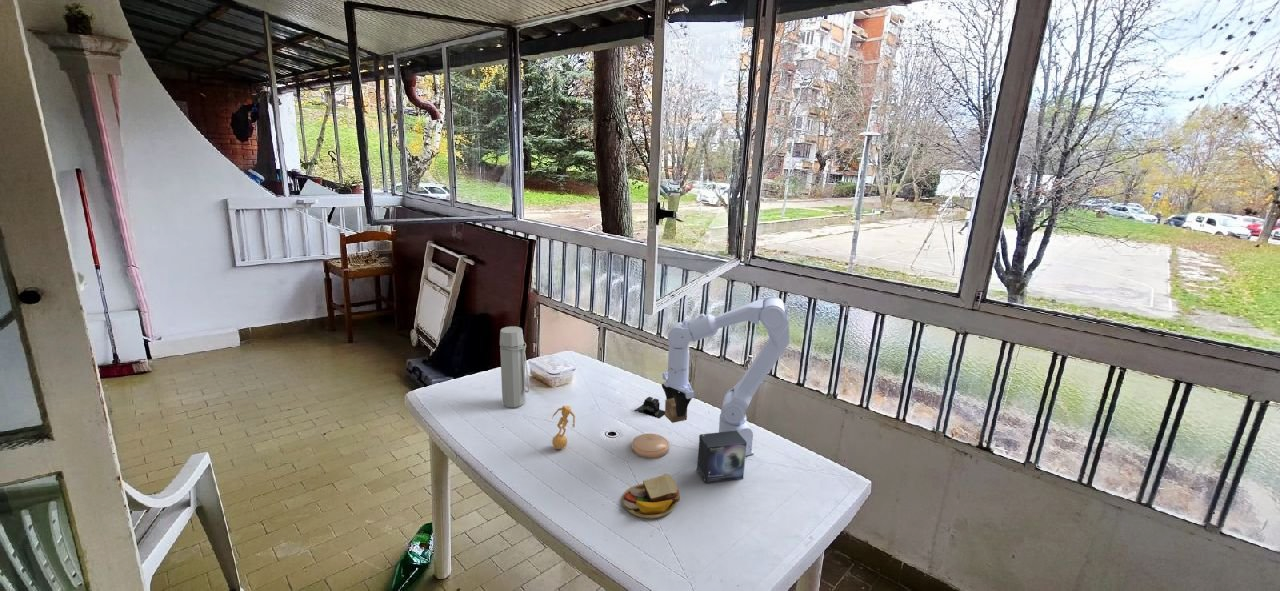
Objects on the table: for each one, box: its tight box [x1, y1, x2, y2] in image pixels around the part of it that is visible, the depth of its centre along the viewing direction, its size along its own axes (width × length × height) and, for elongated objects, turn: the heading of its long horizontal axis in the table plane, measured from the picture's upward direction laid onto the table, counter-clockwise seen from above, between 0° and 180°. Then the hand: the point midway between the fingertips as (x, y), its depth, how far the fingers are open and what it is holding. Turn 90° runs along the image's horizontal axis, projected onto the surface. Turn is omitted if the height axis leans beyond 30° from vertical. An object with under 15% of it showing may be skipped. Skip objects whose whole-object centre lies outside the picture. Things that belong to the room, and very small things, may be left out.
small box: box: [696, 430, 747, 484], centre depth 136 cm, size 11×6×10 cm, turn 105°
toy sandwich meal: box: [621, 473, 681, 520], centre depth 125 cm, size 12×14×5 cm
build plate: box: [634, 396, 665, 419], centre depth 170 cm, size 12×7×5 cm, turn 57°
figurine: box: [551, 405, 576, 450], centre depth 147 cm, size 8×6×12 cm
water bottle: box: [499, 326, 531, 409], centre depth 169 cm, size 9×8×25 cm
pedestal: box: [631, 433, 670, 459], centre depth 149 cm, size 10×10×2 cm
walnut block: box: [664, 398, 688, 424], centre depth 151 cm, size 4×4×5 cm
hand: (676, 411), depth 151 cm, fingers closed on walnut block, 4 cm apart
